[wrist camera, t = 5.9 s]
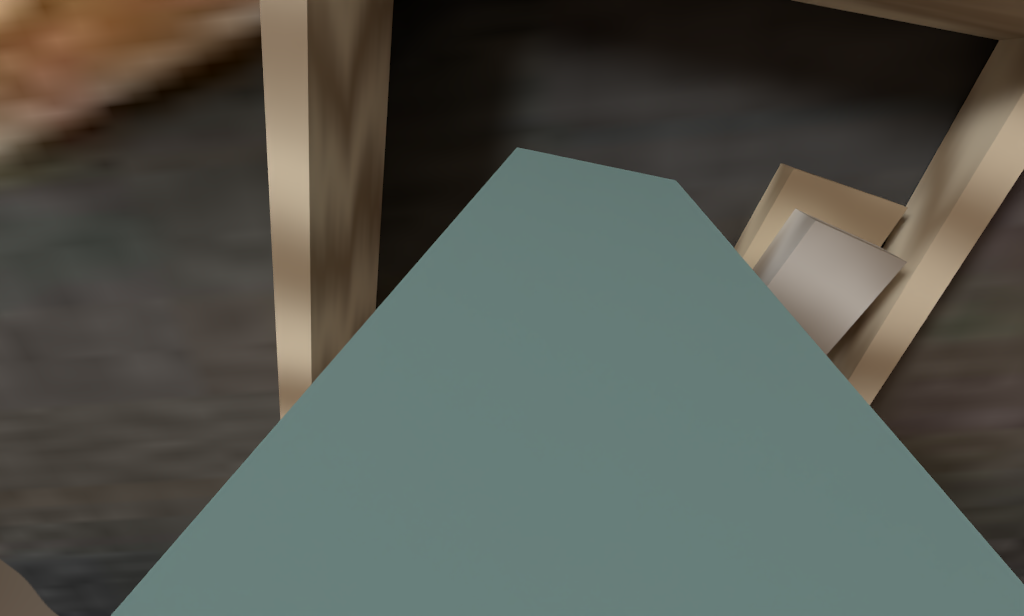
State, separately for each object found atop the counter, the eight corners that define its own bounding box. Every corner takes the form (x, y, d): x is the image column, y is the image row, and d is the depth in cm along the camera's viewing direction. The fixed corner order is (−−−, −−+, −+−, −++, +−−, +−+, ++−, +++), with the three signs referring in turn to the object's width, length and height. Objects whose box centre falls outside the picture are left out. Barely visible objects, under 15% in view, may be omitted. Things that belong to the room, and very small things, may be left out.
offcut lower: (775, 161, 21) (793, 168, 19) (880, 197, 21) (908, 207, 19) (652, 385, 27) (657, 406, 25) (735, 413, 27) (746, 436, 25)
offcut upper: (795, 208, 20) (815, 220, 18) (878, 246, 20) (907, 262, 18) (671, 383, 24) (678, 407, 23) (741, 413, 25) (753, 439, 23)
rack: (356, -132, 18) (238, -246, 12) (1067, 1, 17) (1350, -48, 11) (342, 426, 31) (280, 514, 24) (753, 524, 29) (800, 643, 23)
